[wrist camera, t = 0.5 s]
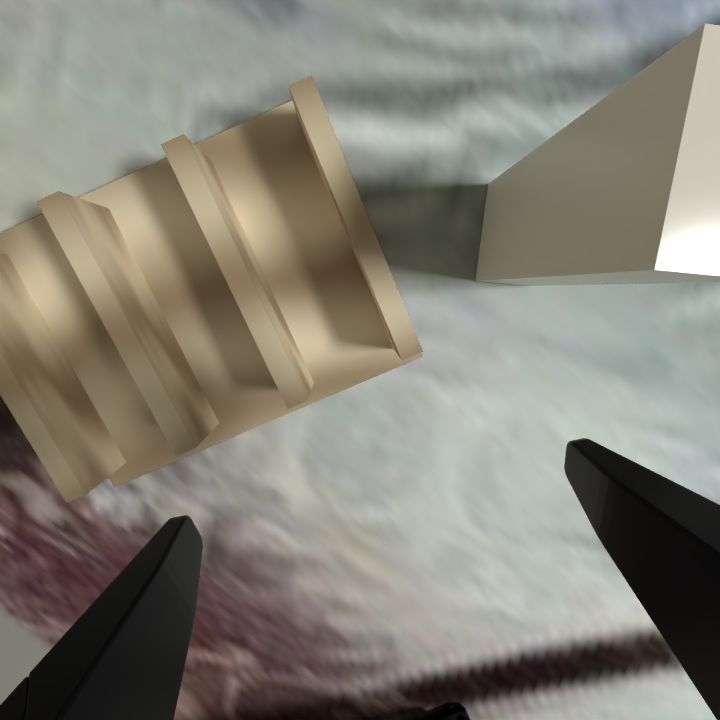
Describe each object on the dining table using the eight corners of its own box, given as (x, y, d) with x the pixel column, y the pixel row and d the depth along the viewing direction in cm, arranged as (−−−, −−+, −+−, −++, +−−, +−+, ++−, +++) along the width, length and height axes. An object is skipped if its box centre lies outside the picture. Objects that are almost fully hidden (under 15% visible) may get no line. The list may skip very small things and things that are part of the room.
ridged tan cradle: (419, 353, 23) (437, 369, 18) (124, 478, 23) (71, 523, 19) (316, 99, 20) (308, 46, 16) (-10, 247, 21) (-106, 236, 16)
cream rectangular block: (529, 285, 22) (778, 281, 9) (475, 280, 22) (654, 270, 9) (543, 189, 21) (841, 40, 8) (488, 184, 21) (704, 24, 8)
